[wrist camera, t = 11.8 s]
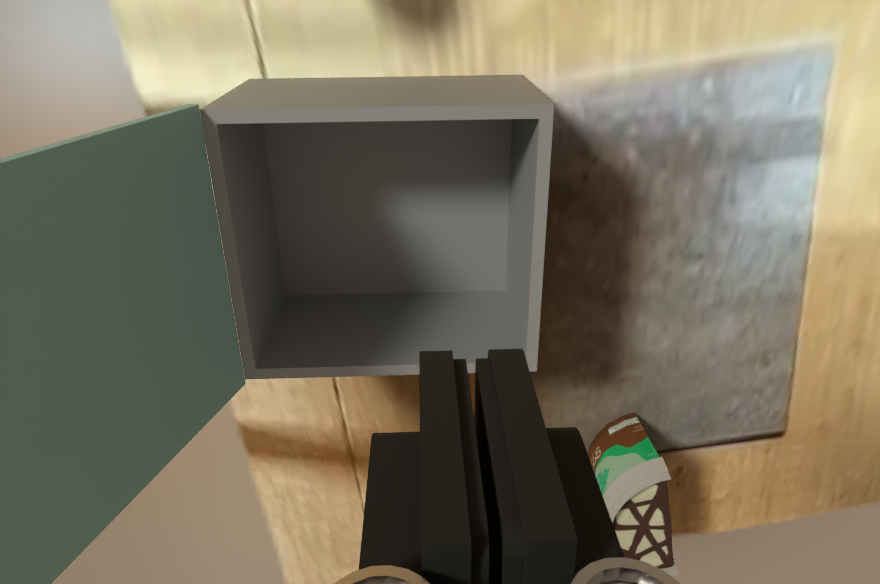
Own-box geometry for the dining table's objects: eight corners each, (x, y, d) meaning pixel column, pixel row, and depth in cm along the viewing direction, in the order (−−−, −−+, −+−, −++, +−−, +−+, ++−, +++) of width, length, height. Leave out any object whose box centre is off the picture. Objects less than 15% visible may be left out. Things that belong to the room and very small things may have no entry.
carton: (523, 75, 48) (554, 104, 37) (513, 294, 56) (536, 371, 45) (249, 79, 47) (199, 109, 37) (278, 300, 55) (245, 379, 44)
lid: (-248, 236, 18) (-262, 234, 18) (-30, 666, 26) (-42, 663, 26) (198, 104, 36) (189, 104, 36) (245, 383, 44) (237, 382, 45)
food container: (568, 412, 61) (594, 487, 52) (633, 400, 61) (670, 473, 52) (583, 508, 67) (610, 591, 58) (643, 497, 66) (679, 578, 57)
